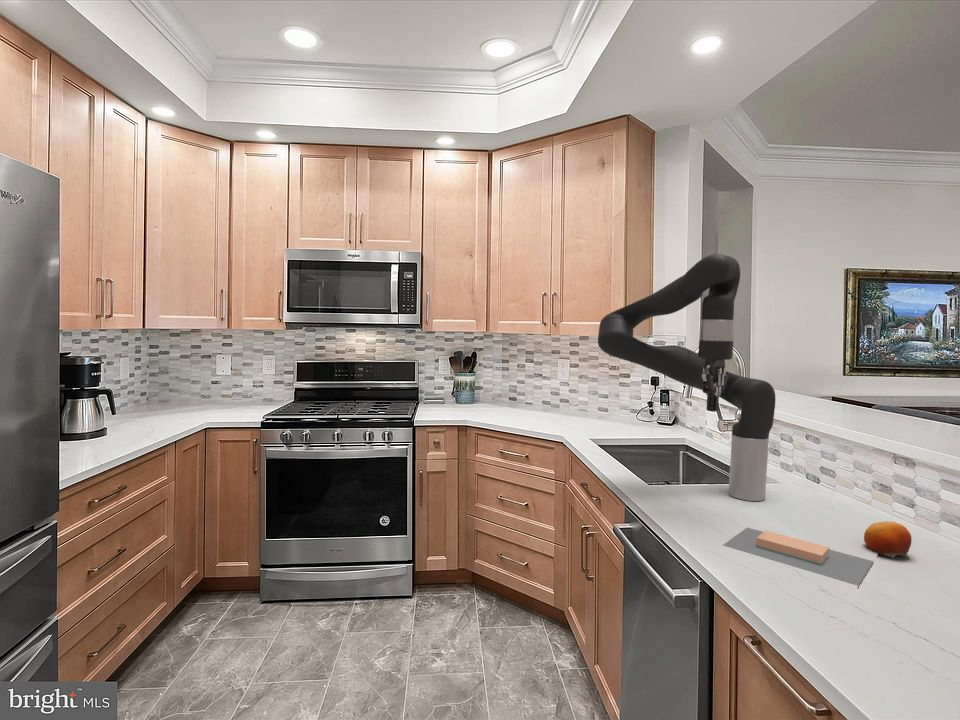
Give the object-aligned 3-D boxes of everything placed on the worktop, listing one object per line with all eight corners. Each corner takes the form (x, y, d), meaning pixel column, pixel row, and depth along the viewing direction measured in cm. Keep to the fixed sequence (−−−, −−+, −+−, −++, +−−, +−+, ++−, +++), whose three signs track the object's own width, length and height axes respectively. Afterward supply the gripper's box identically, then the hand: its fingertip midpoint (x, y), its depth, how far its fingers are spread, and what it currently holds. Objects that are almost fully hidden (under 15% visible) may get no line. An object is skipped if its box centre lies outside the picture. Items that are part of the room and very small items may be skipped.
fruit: (901, 560, 106) (883, 519, 110) (867, 565, 113) (851, 526, 117) (931, 556, 108) (912, 516, 112) (895, 561, 115) (879, 523, 119)
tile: (765, 530, 117) (829, 547, 109) (765, 539, 117) (828, 556, 109) (756, 537, 113) (822, 555, 105) (755, 546, 113) (821, 565, 105)
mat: (747, 530, 124) (747, 527, 124) (873, 564, 107) (873, 561, 107) (722, 547, 114) (722, 545, 114) (858, 588, 97) (858, 585, 97)
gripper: (721, 339, 120) (717, 415, 121) (742, 339, 129) (738, 410, 130) (688, 338, 125) (685, 411, 126) (711, 338, 134) (707, 406, 135)
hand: (712, 410), depth 128 cm, fingers closed
